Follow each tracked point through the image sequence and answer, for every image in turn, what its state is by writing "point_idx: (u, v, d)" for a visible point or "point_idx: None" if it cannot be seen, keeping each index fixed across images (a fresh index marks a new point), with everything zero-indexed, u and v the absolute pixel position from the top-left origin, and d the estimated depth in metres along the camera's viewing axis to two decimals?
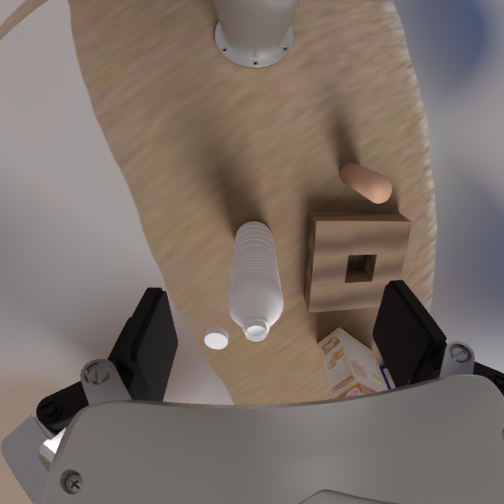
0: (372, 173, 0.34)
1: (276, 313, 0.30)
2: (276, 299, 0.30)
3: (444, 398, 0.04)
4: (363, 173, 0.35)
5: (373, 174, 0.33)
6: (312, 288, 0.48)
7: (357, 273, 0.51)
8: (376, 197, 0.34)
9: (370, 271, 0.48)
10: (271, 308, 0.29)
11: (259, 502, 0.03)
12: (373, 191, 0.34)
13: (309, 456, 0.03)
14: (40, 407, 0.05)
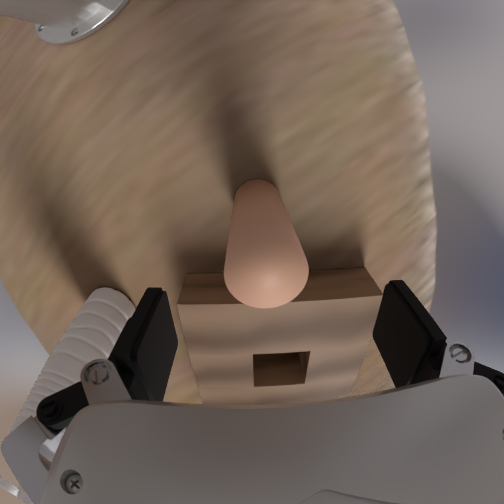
0: (251, 227, 0.13)
1: None
2: None
3: (444, 398, 0.04)
4: (238, 223, 0.15)
5: (249, 231, 0.13)
6: (201, 390, 0.28)
7: (284, 364, 0.31)
8: (259, 295, 0.13)
9: (304, 367, 0.28)
10: None
11: (259, 502, 0.03)
12: (247, 281, 0.13)
13: (309, 456, 0.03)
14: (40, 407, 0.05)
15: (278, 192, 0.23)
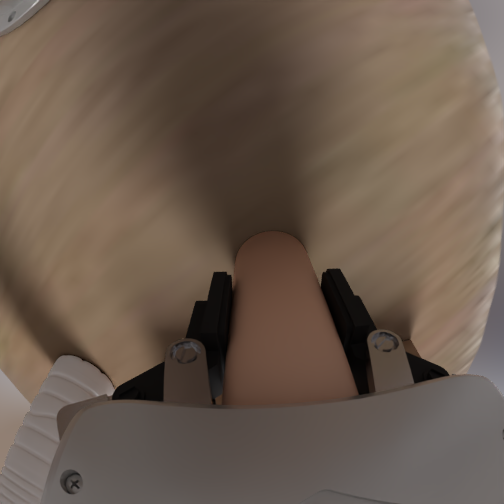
0: None
1: None
2: None
3: (444, 397, 0.04)
4: (242, 386, 0.06)
5: None
6: None
7: None
8: None
9: None
10: None
11: (259, 502, 0.03)
12: None
13: (309, 456, 0.03)
14: (118, 395, 0.06)
15: (307, 254, 0.14)
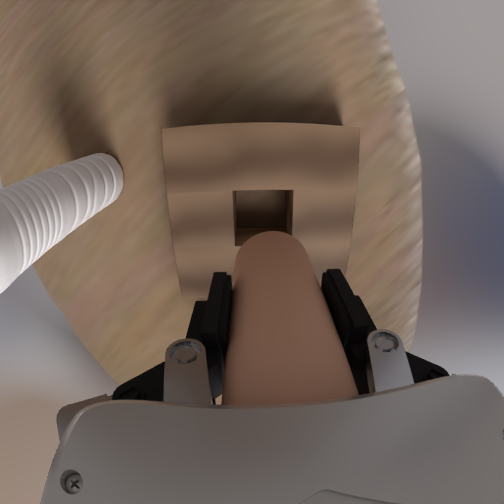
0: None
1: None
2: None
3: (444, 397, 0.04)
4: (241, 387, 0.06)
5: None
6: (177, 254, 0.28)
7: None
8: None
9: (290, 227, 0.28)
10: None
11: (259, 502, 0.03)
12: None
13: (309, 456, 0.03)
14: (118, 395, 0.06)
15: (307, 254, 0.14)
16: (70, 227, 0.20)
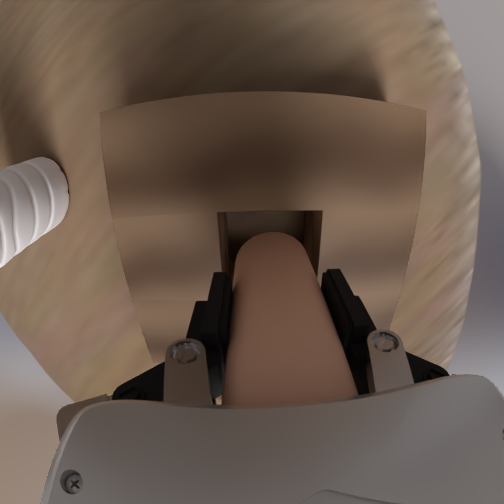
0: None
1: None
2: None
3: (444, 397, 0.04)
4: (241, 387, 0.06)
5: None
6: (138, 309, 0.17)
7: None
8: None
9: (313, 267, 0.17)
10: None
11: (259, 502, 0.03)
12: None
13: (309, 456, 0.03)
14: (118, 395, 0.06)
15: None
16: None
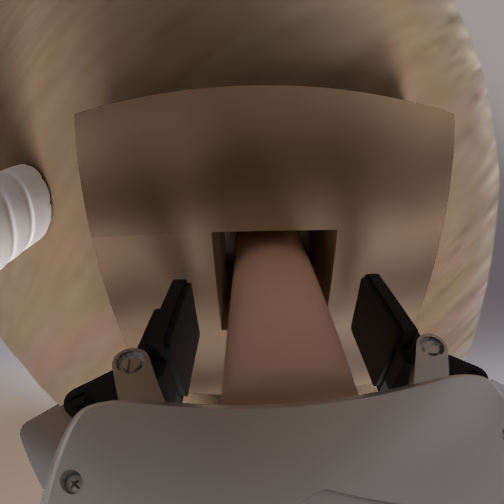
0: (266, 337, 0.07)
1: None
2: None
3: (444, 398, 0.04)
4: (243, 313, 0.09)
5: (263, 350, 0.07)
6: (126, 336, 0.15)
7: None
8: None
9: (322, 292, 0.15)
10: None
11: (259, 502, 0.03)
12: None
13: (309, 456, 0.03)
14: (68, 399, 0.06)
15: (297, 232, 0.17)
16: None
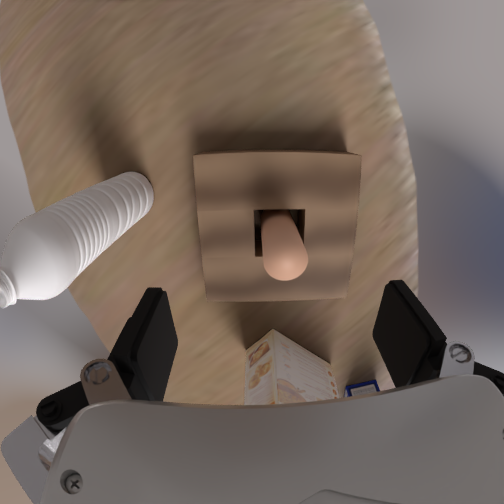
0: (277, 235, 0.25)
1: (39, 269, 0.14)
2: (39, 246, 0.14)
3: (444, 397, 0.04)
4: (269, 233, 0.27)
5: (277, 237, 0.24)
6: (204, 263, 0.32)
7: None
8: (281, 272, 0.25)
9: (302, 240, 0.33)
10: (26, 258, 0.13)
11: (259, 502, 0.03)
12: (275, 264, 0.25)
13: (309, 456, 0.03)
14: (40, 407, 0.05)
15: None
16: (113, 239, 0.25)
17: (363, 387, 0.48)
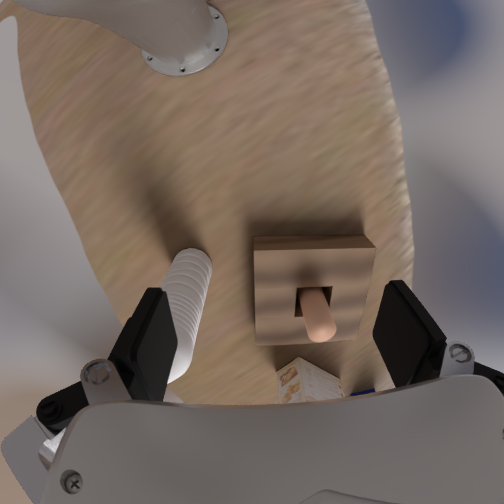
0: (317, 315, 0.36)
1: (177, 368, 0.25)
2: (176, 354, 0.25)
3: (444, 397, 0.04)
4: (310, 310, 0.37)
5: (317, 317, 0.35)
6: (257, 322, 0.43)
7: None
8: (318, 338, 0.36)
9: None
10: None
11: (259, 502, 0.03)
12: (315, 334, 0.36)
13: (309, 456, 0.03)
14: (40, 407, 0.05)
15: None
16: None
17: None
